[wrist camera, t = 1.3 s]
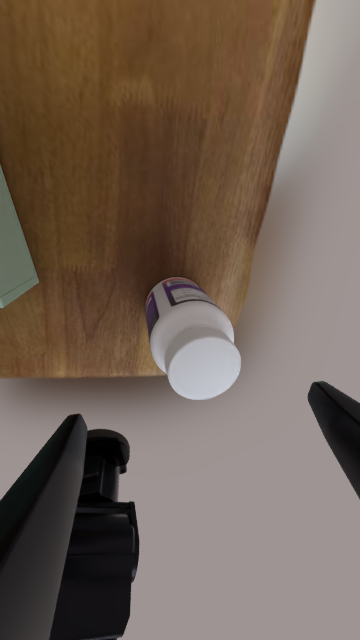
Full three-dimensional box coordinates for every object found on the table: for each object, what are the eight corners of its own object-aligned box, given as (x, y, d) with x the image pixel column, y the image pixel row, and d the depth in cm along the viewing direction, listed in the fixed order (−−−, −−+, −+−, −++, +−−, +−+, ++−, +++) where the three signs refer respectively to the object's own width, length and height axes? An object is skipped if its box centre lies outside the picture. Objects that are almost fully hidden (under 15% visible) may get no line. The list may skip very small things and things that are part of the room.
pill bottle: (173, 343, 22) (197, 425, 14) (132, 305, 20) (130, 374, 11) (216, 305, 22) (272, 367, 13) (178, 262, 19) (215, 301, 11)
